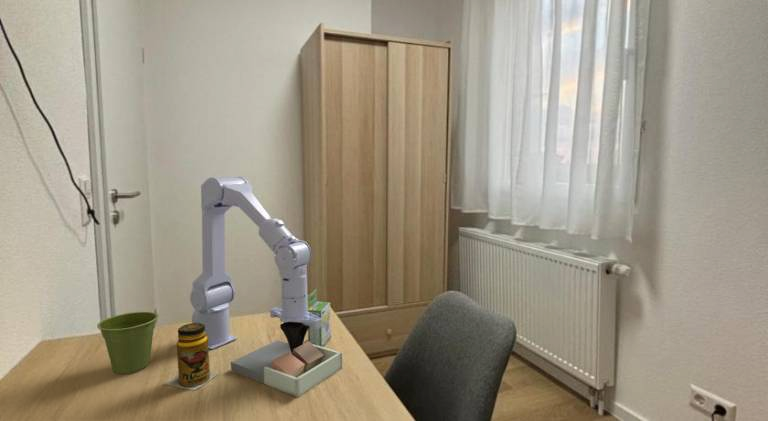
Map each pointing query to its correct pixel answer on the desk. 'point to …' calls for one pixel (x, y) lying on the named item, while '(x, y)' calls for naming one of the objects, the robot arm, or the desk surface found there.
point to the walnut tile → (308, 355)
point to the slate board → (259, 360)
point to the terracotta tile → (288, 365)
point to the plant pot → (129, 340)
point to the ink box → (322, 311)
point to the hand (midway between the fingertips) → (296, 352)
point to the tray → (305, 374)
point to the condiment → (192, 358)
